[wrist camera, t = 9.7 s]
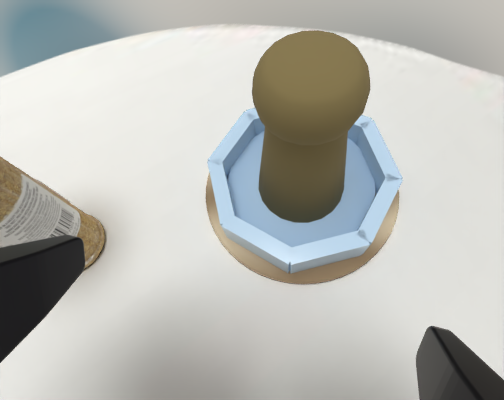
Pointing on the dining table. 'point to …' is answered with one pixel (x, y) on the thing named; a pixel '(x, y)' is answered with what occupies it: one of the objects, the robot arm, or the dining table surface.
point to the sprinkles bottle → (42, 214)
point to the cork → (307, 121)
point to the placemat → (309, 275)
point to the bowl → (313, 233)
